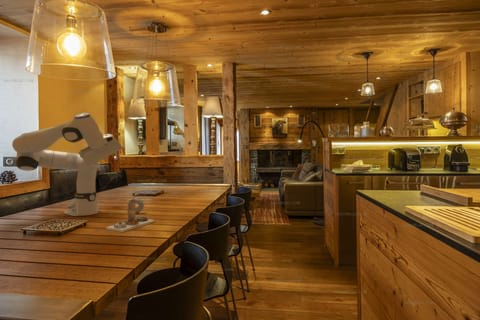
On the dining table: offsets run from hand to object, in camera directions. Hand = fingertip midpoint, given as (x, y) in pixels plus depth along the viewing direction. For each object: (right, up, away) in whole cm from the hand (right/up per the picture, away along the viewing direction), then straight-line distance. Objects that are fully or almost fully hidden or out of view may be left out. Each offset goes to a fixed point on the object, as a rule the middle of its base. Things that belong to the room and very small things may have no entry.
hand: (108, 163), depth 161 cm
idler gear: (+11, -33, +3) cm, 35 cm away
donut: (+2, -34, +35) cm, 49 cm away
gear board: (+11, -35, +3) cm, 37 cm away
